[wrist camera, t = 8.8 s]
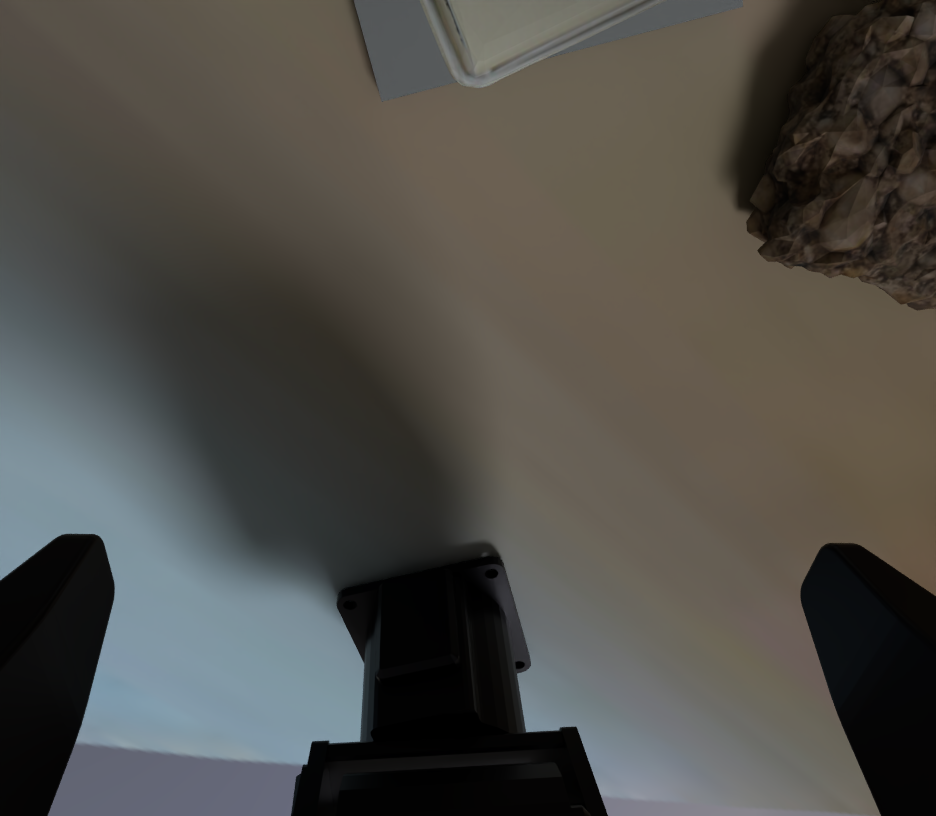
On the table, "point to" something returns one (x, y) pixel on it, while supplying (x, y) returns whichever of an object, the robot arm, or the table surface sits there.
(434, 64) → the pad
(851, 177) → the concrete sample
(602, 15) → the skincare box
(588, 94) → the table surface
